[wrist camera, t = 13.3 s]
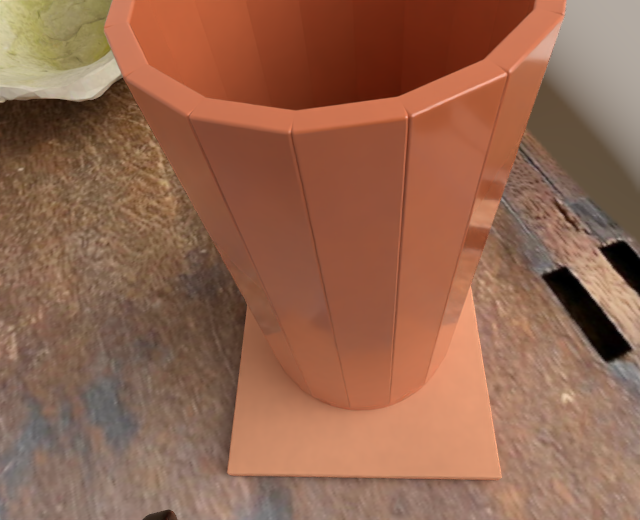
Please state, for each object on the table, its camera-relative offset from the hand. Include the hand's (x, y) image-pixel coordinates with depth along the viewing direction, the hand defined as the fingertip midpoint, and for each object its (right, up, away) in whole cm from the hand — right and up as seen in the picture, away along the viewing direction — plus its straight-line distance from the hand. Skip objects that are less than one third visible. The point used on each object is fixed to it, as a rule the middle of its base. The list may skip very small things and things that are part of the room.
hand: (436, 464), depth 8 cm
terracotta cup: (0, +1, +10) cm, 10 cm away
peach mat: (0, +1, +11) cm, 11 cm away
